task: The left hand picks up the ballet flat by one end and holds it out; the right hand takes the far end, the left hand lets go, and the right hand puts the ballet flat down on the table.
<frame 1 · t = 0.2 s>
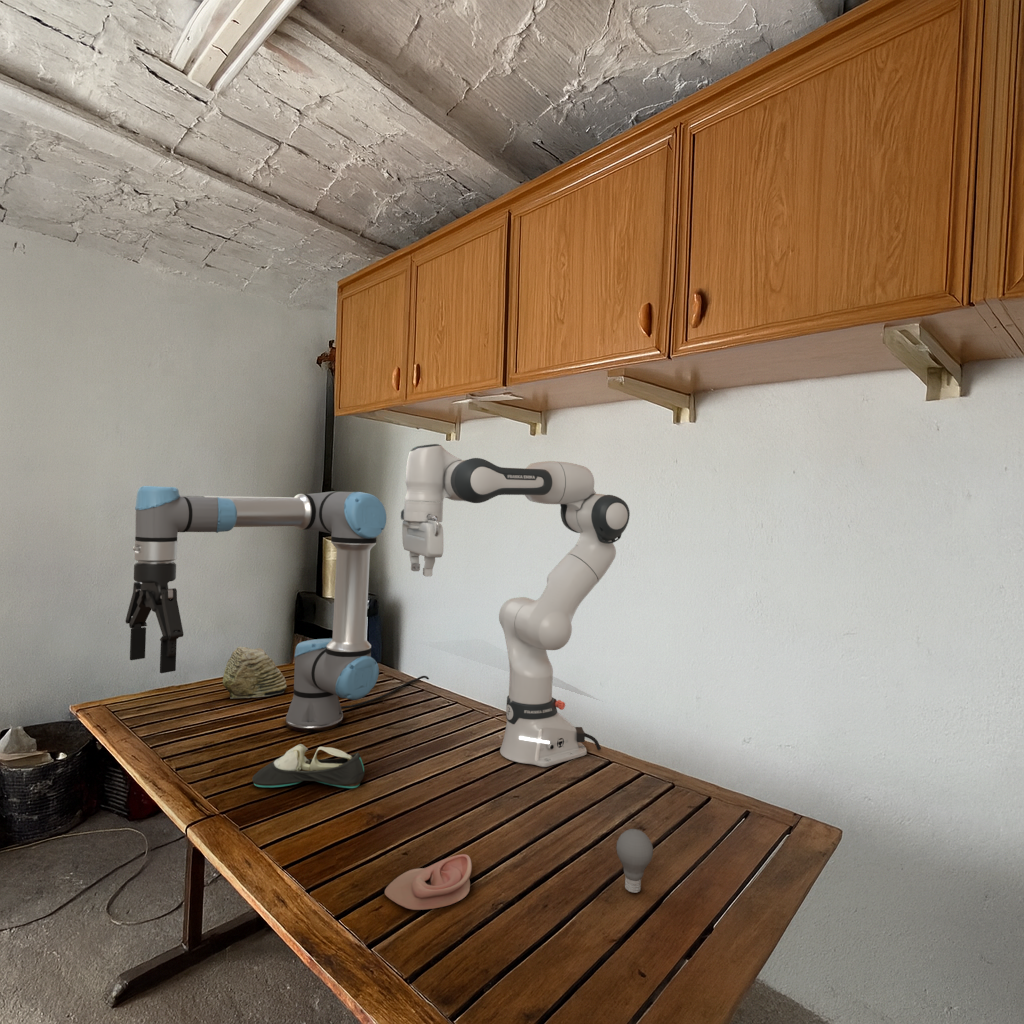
left hand: (152, 665, 129), 27 cm above the table, tool pointing down, fingers open, 13 cm apart
right hand: (421, 573, 147), 46 cm above the table, tool pointing down, fingers open, 8 cm apart
fossil: (254, 694, 198), on the table
ballet flat: (309, 782, 140), on the table
light bulb: (632, 891, 106), on the table
anatomical model: (428, 890, 104), on the table
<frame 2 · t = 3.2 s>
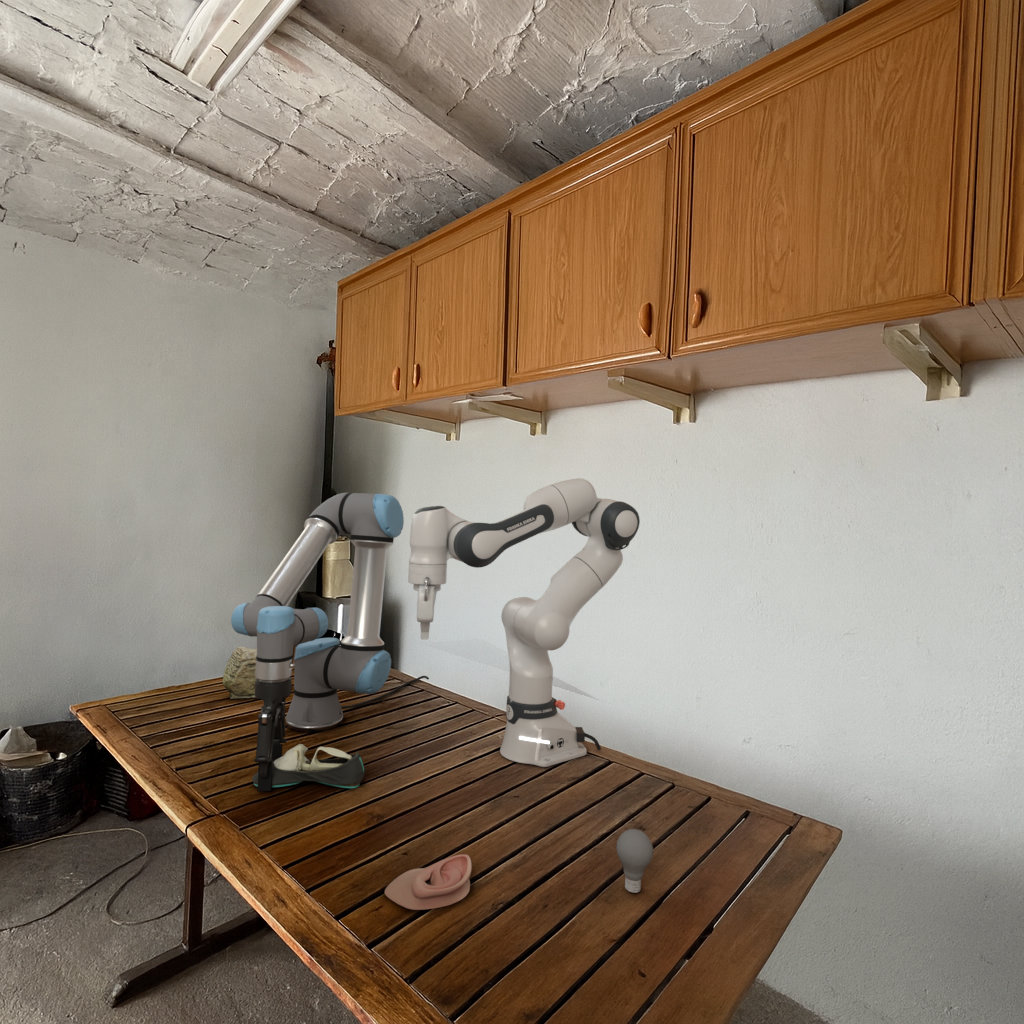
left hand: (269, 781, 139), 0 cm above the table, tool pointing down, fingers closed on ballet flat, 8 cm apart
right hand: (425, 634, 148), 32 cm above the table, tool pointing down, fingers open, 8 cm apart
ballet flat: (309, 782, 140), on the table, touching left hand
everything else where it was.
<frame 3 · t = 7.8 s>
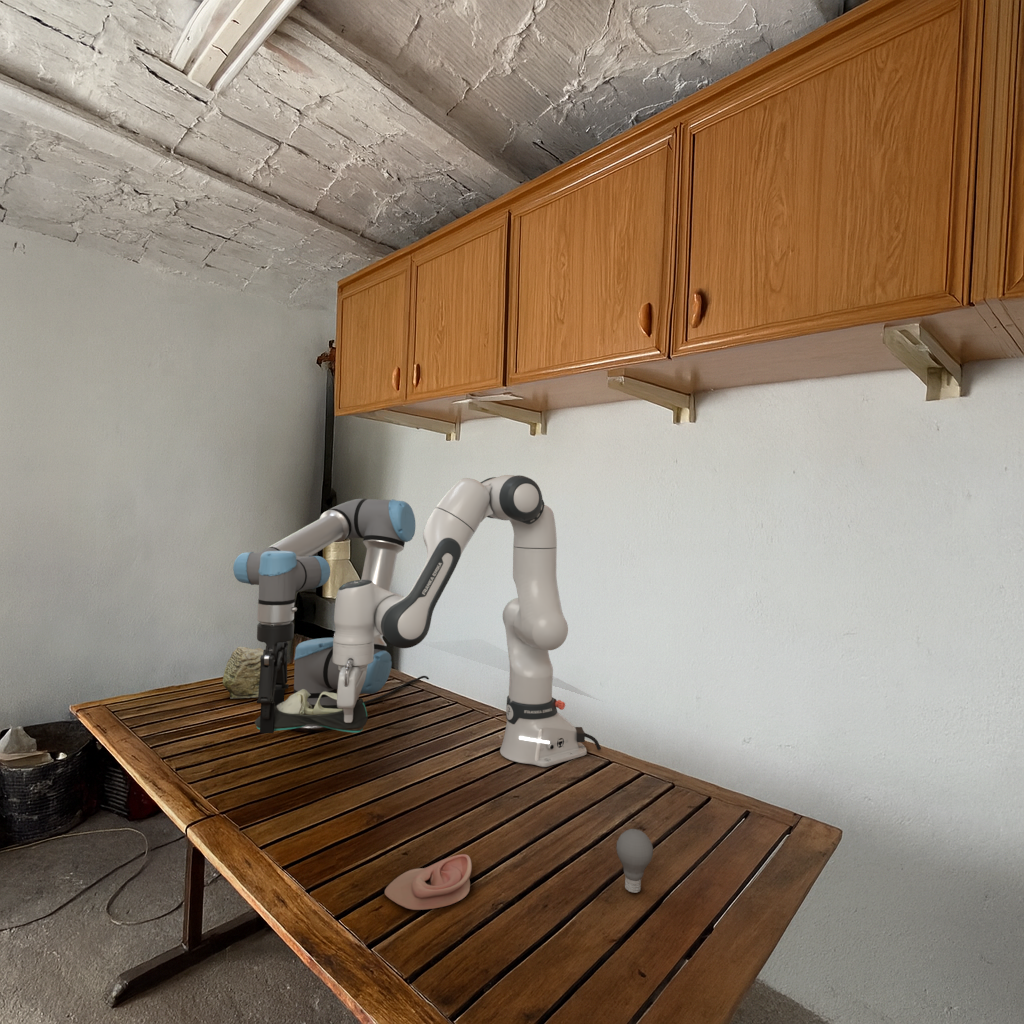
left hand: (272, 725, 139), 13 cm above the table, tool pointing down, fingers closed on ballet flat, 8 cm apart
right hand: (351, 715, 140), 15 cm above the table, tool pointing down, fingers closed on ballet flat, 6 cm apart
ballet flat: (312, 727, 140), point 12 cm above the table, touching left hand, right hand
everything else where it was.
when the left hand's fingers open (13 cm above the table, at t = 8.7 s): ballet flat stays where it is, held by the right hand.
when the right hand's fingers open (4 cm above the table, at t = 13.7 s): ballet flat stays where it is, on the table.
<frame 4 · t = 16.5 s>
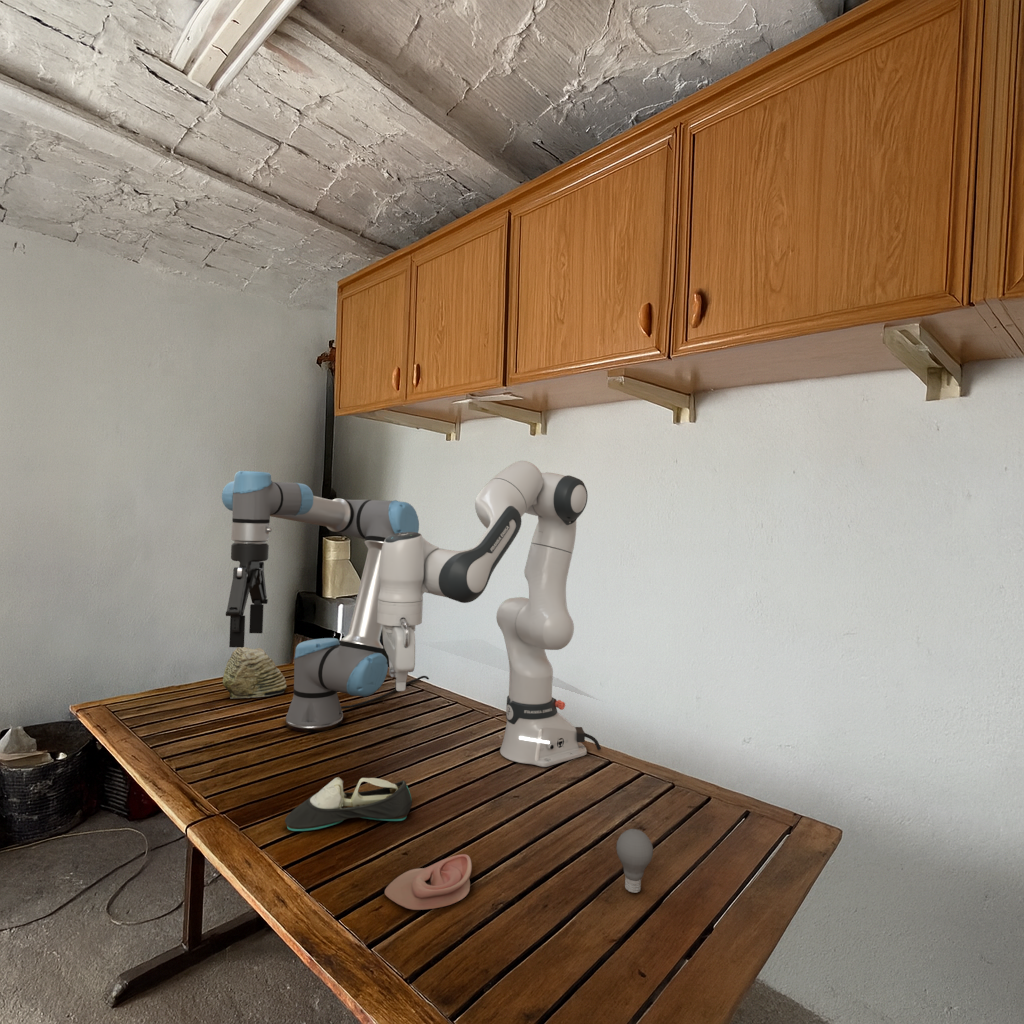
left hand: (246, 639, 138), 31 cm above the table, tool pointing down, fingers open, 13 cm apart
right hand: (397, 682, 126), 27 cm above the table, tool pointing down, fingers open, 8 cm apart
ballet flat: (349, 819, 125), on the table
everything else where it was.
at the end: ballet flat inside the target area (8.3 cm from its centre), on the table; the left hand is holding nothing; the right hand is holding nothing; ballet flat at rest at the end (0.0 cm/s) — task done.
